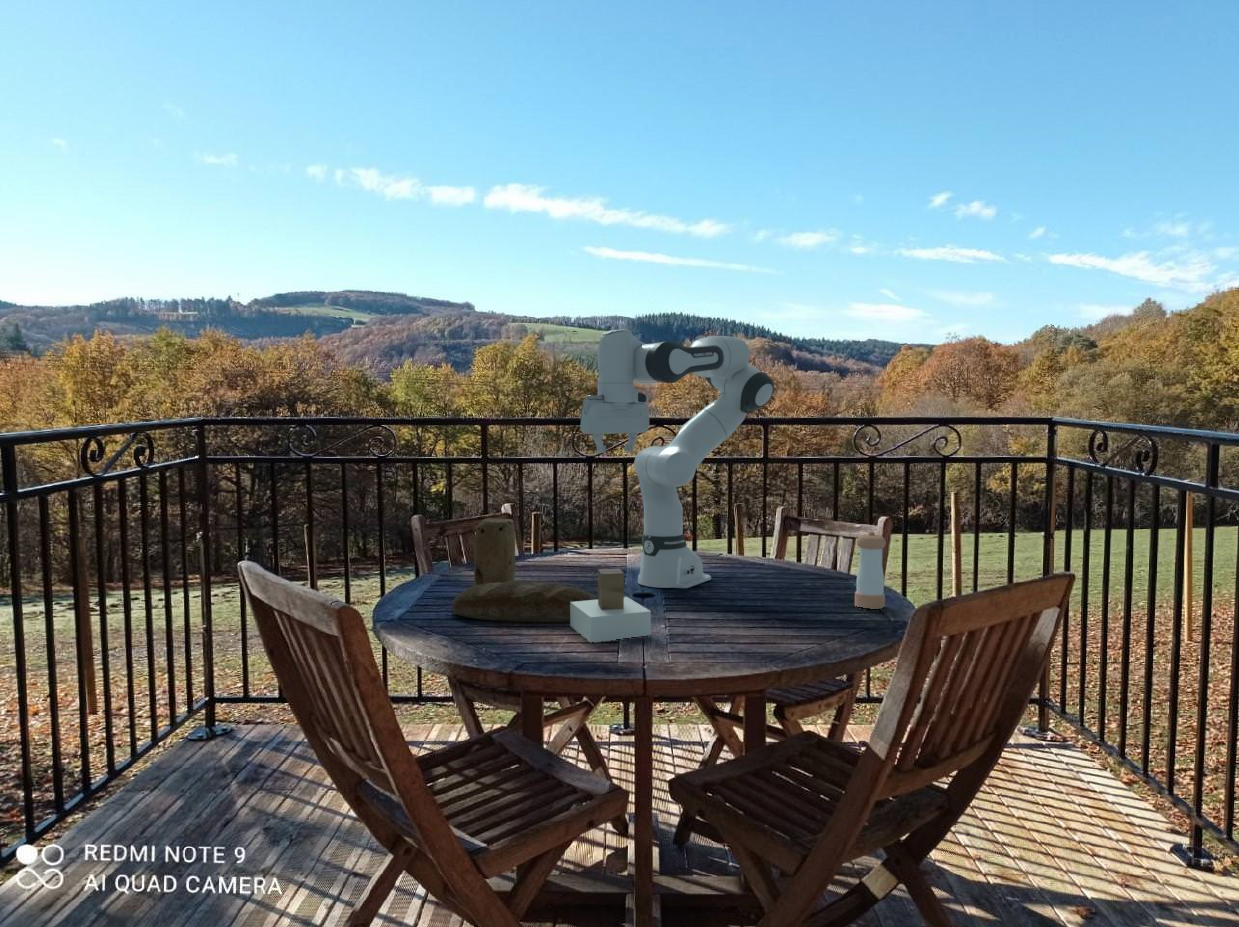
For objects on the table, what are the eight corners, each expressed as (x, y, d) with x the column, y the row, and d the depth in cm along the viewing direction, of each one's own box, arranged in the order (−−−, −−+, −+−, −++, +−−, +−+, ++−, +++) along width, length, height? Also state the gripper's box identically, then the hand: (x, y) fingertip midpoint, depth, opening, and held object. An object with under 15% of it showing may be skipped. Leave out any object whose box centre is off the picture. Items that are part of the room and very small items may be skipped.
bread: (463, 606, 200) (463, 573, 199) (605, 610, 196) (605, 577, 195) (443, 622, 184) (442, 587, 184) (597, 627, 180) (597, 591, 180)
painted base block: (626, 621, 186) (626, 596, 185) (650, 638, 173) (650, 611, 172) (570, 627, 181) (570, 602, 180) (590, 645, 168) (590, 617, 167)
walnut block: (598, 604, 178) (598, 569, 178) (619, 603, 179) (619, 568, 178) (601, 609, 173) (601, 573, 173) (623, 608, 174) (623, 573, 174)
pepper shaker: (886, 611, 195) (888, 534, 194) (855, 609, 196) (857, 533, 195) (882, 603, 202) (884, 529, 201) (853, 602, 203) (855, 528, 202)
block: (517, 590, 216) (516, 517, 215) (510, 596, 209) (510, 521, 207) (478, 588, 217) (478, 517, 216) (470, 595, 210) (469, 520, 208)
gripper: (592, 394, 183) (592, 454, 184) (653, 396, 197) (653, 451, 198) (574, 395, 187) (574, 453, 188) (635, 396, 201) (635, 450, 202)
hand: (615, 452), depth 193 cm, fingers open, 8 cm apart
